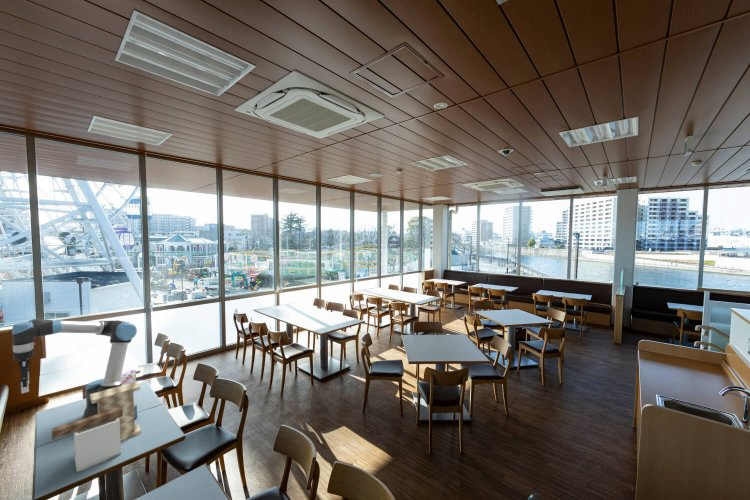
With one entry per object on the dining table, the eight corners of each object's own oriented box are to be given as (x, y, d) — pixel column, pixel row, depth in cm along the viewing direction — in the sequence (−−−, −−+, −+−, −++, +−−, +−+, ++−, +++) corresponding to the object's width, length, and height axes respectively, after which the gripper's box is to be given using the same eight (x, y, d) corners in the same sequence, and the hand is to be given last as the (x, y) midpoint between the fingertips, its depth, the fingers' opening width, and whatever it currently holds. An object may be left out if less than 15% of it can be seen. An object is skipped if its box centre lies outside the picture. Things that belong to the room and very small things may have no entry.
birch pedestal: (93, 451, 176) (91, 400, 174) (91, 443, 182) (89, 394, 181) (141, 433, 192) (139, 386, 191) (137, 426, 199) (136, 381, 197)
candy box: (119, 398, 232) (118, 377, 231) (113, 398, 233) (112, 376, 232) (136, 389, 245) (136, 369, 245) (130, 389, 247) (130, 369, 246)
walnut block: (52, 439, 156) (52, 432, 156) (52, 436, 158) (51, 428, 158) (122, 416, 176) (122, 409, 176) (121, 413, 179) (121, 406, 179)
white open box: (76, 472, 160) (75, 435, 159) (74, 461, 168) (73, 425, 167) (120, 454, 173) (119, 420, 172) (117, 444, 181) (116, 411, 181)
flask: (134, 416, 209) (133, 401, 209) (138, 416, 210) (138, 401, 209) (125, 425, 200) (124, 409, 200) (130, 424, 201) (129, 408, 200)
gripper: (33, 354, 164) (35, 393, 165) (34, 343, 181) (35, 378, 182) (12, 358, 158) (14, 398, 159) (14, 346, 175) (16, 383, 176)
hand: (25, 388), depth 170 cm, fingers open, 13 cm apart
